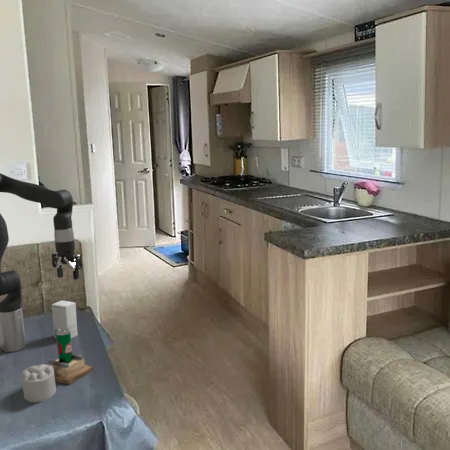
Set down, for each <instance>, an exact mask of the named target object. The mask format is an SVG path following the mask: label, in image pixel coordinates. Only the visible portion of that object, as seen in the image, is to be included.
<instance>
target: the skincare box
mask: <svg viewBox="0 0 450 450" xmlns="http://www.w3.org/2000/svg"><path fill="white" fill-rule="evenodd" d="M76 304H77V303H76V302H73V301H68V300H60V301H57V302H54V303H52V304H51V306H52V307H51V308H52V321H53V322H52V325H53V336H54V337H53V338H55V339H56V333H57V330H59V329H62V328H68V329H69V331H70V334H71V340H72V339H74V338H75V337H77V336H78V335H79V333H78V323H77V320H78V319H77V305H76Z"/></svg>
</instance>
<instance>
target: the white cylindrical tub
mask: <svg viewBox="0 0 450 450" xmlns="http://www.w3.org/2000/svg"><path fill="white" fill-rule="evenodd" d="M21 383H22V384H21V385H22V393H23V398H24V400H26V401H28V402H31V403H40V402H44V401H46V400H48V399H51V397H53V396H54V394H55V393H56V392H57V388H56V381H55V376H54V369H53V367H52V365H48V364H46V363H42V364H37V365H31V366H29V367H27V368H26V369H24V370H23V371H22V373H21Z"/></svg>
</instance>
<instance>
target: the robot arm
mask: <svg viewBox="0 0 450 450" xmlns="http://www.w3.org/2000/svg"><path fill="white" fill-rule="evenodd" d="M0 193H7V194H11V195H15V196H17V197H19V198H21V199H23V200H27V201H30V202H34V203H39V204H41V205H43V206H45V207H48V208H51V209H56V214H55V215H54V216H53V220H52V221H53V229H54V230H53V231H54V232H53V234H54V235H53V237H54V246H55V252H52V253H51V263H52V264H51V267H52V268H55V269H56V274H57V278H59V279H61V278H63V277H64V271H63V266H64V265H67V266H69V267H70V268H71V269H72V279H73V281H75V280H76V281H77V280H79V278H80V272H79V270H82V269H83V261H82V256H81V255H82V254H80V253H79V254H75V250H76V243H75V235H74V233H75V232H74V229H73V220H72V214H73V206H74V199H73V196H72V193H71V192H70V191H69V190H67V189H58V190H52V189H50V188H48V187H47V186H45V185H40V184H36V183H32V182H28V181H24V180H19V179H16V178H13V177H10V176H7V175H6V174H4V173H0ZM8 244H9V231H8V227H7V222H6V219H4V217H3V216H2V214H1V213H0V297H2V296H5V297H4V298H3V299H2V300H1V301H0V349H1V350H2V351H3V352H5V353H12V352H17V351H21V350H23V349H25V348H26V347H27V341H26V334H25V325H24V316H23V315H24V314H23V309H22V302H23V299H22V298H23V295H22V294H23V293H22V282H21V277H20V275H19V272H17V271H16V270H14V269H13V270H7V271H2V261H3V256H4V254H5V251H6V249H7V247H8Z"/></svg>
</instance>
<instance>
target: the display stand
mask: <svg viewBox="0 0 450 450" xmlns="http://www.w3.org/2000/svg"><path fill="white" fill-rule="evenodd" d="M47 361H48V363H47V365H52V367H53V369H54V376H55V382H56V383H61V384H64V385H65V384H66V385H69V386H70V385H72V384H73V383H76V382H77V381H78V380H80V379H81V378H84V377H85V376H86V375H88V374H89V373H92V372H93V371H94V366H91V365H88V364H85V358H84V355H81V354H76V353H73V360H72V361H71V362H69V363H63V362H59V358H57V359H50V360H47ZM84 375H85V376H84Z"/></svg>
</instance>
